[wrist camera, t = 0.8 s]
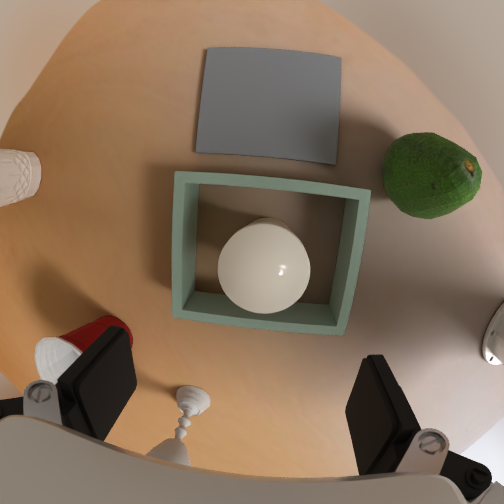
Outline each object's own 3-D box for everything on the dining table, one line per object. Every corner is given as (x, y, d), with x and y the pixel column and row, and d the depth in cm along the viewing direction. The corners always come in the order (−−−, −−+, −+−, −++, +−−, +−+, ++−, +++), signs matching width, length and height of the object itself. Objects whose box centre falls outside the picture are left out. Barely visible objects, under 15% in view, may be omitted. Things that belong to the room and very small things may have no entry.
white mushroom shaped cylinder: (304, 215, 29) (316, 230, 21) (296, 280, 31) (302, 317, 22) (236, 208, 29) (220, 221, 21) (231, 273, 31) (215, 308, 23)
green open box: (355, 187, 28) (371, 190, 23) (335, 313, 31) (344, 335, 26) (191, 171, 29) (174, 171, 24) (186, 297, 32) (172, 317, 27)
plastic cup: (143, 299, 33) (91, 351, 21) (156, 370, 36) (121, 430, 24) (76, 292, 34) (19, 331, 22) (93, 358, 36) (51, 406, 25)
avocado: (443, 181, 26) (513, 189, 15) (398, 225, 28) (459, 254, 17) (402, 123, 25) (464, 101, 14) (354, 167, 27) (402, 163, 16)
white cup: (51, 183, 30) (-4, 191, 21) (22, 212, 32) (-27, 224, 22) (36, 136, 29) (-16, 134, 19) (9, 167, 30) (-39, 172, 20)
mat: (340, 59, 24) (341, 57, 24) (334, 165, 27) (335, 164, 27) (209, 49, 25) (207, 47, 24) (197, 152, 28) (195, 152, 28)
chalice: (163, 379, 36) (111, 478, 19) (210, 379, 35) (172, 492, 18) (178, 414, 38) (141, 508, 20) (221, 415, 37) (196, 519, 19)
